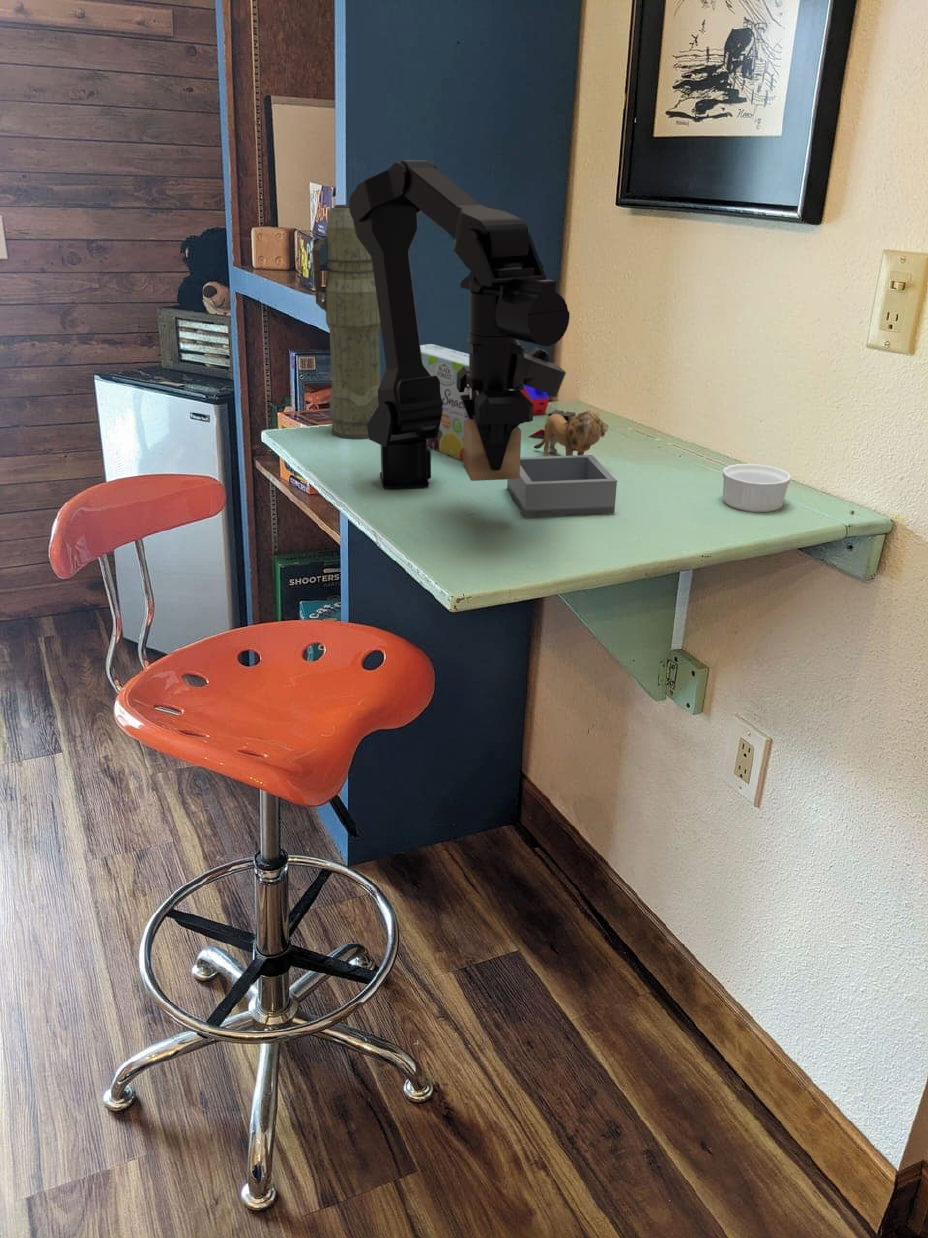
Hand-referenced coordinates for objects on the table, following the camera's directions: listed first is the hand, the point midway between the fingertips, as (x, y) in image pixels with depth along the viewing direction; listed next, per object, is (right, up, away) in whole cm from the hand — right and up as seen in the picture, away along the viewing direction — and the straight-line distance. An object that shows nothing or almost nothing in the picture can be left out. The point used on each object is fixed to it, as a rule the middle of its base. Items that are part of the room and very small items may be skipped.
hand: (491, 462), depth 124 cm
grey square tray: (+10, -3, +12) cm, 16 cm away
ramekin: (+36, -4, +13) cm, 38 cm away
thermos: (-21, +12, +44) cm, 50 cm away
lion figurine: (+13, +4, +29) cm, 32 cm away
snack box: (-4, +7, +33) cm, 34 cm away
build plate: (+13, +10, +42) cm, 45 cm away
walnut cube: (0, -1, +1) cm, 1 cm away
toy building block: (+9, +18, +57) cm, 60 cm away
